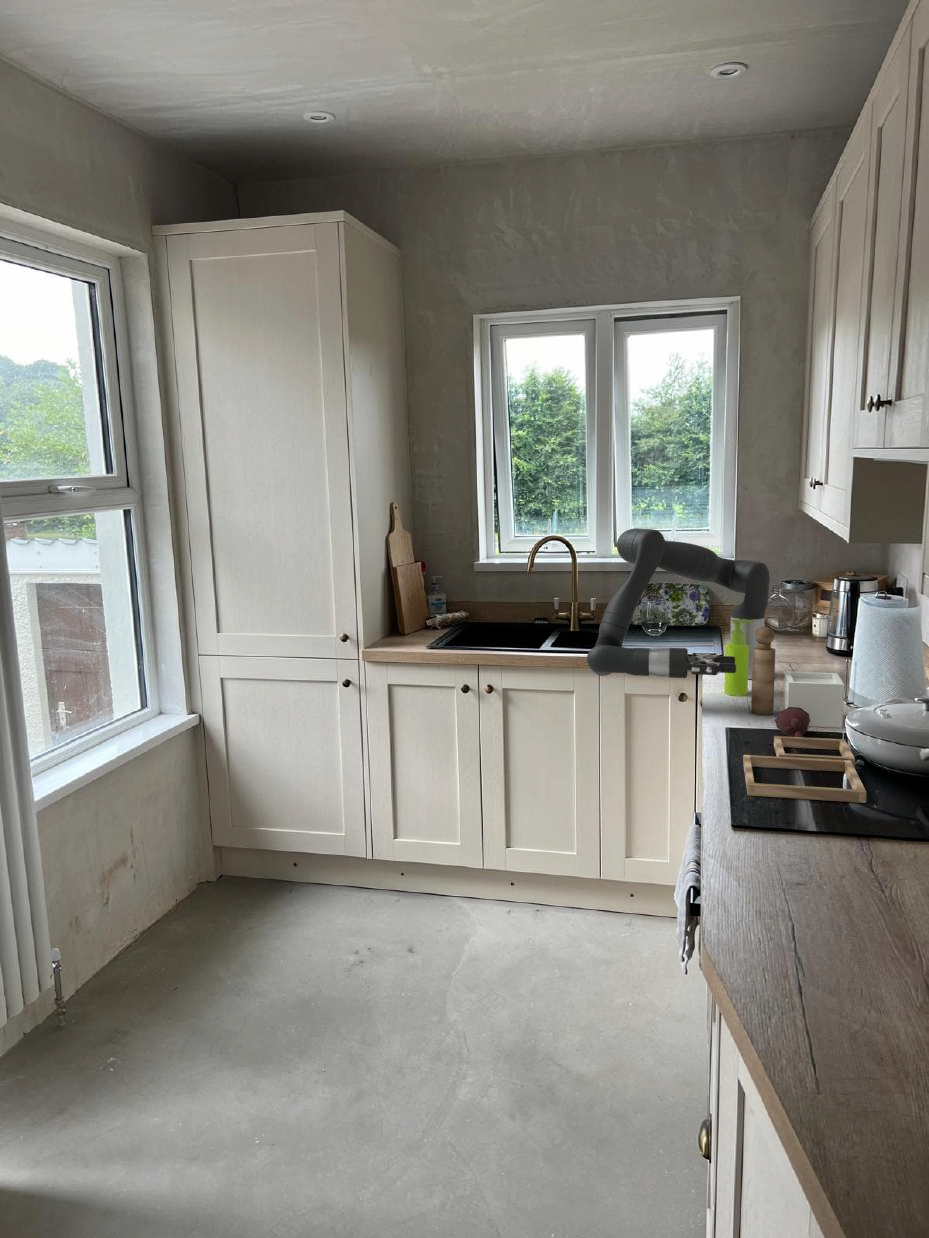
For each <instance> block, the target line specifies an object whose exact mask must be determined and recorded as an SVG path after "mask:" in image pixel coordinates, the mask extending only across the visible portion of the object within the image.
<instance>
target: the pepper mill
mask: <svg viewBox="0 0 929 1238" xmlns="http://www.w3.org/2000/svg"><path fill="white" fill-rule="evenodd" d="M755 638H756V640H757V642H758V647H756V648H753V665H752V679H751V701H750V704H751V706H750V712H751V714H752V715H755V716H759V717H760V716H761V717H762V716H763V717H766V716H772V715H773V716H774V702H775V700H774V699H775V698H774V697H775V671H776V648H773V647H772V643H773V641H774V639H775V632H774V631H773V629H772V628H770V627H768V626H764V627H761V628H759V629H758V630H757V631H756V633H755Z"/></svg>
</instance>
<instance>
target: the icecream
mask: <svg viewBox="0 0 929 1238" xmlns="http://www.w3.org/2000/svg"><path fill="white" fill-rule="evenodd" d="M774 723H775V725H776V728H777V729H778V730H779V731H780V732H781V733H782V734H784V736H786V737H804V734H805V733H806V732H807V731H808V730H809V726H808V725H809V723H810V718H809V714H808V713H807V712H806V711H804V710H803V709H801V708H799V707H788V708H787V709H785V710H783V709H782V710H781V711H779V713H778V714H777V716H776V717H775V720H774Z"/></svg>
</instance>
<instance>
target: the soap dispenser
mask: <svg viewBox="0 0 929 1238" xmlns="http://www.w3.org/2000/svg"><path fill="white" fill-rule="evenodd" d="M732 622H733V623H734V631H732V632H731V631H730V632H731V643H730V642H729V643H727V644H725V655H724V656H734V657H735V664H736V672H735V673H724V692H723V693H724V694H725V695H727V696H733V697H744V696H747V695H748V686H749V685H748V683H749V679H748V656H749V645H747V644H744V632H742V631H741V623H752V624H753V623H754V622H753V621H751V620H747V619H734V620H732Z"/></svg>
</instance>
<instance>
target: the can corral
mask: <svg viewBox="0 0 929 1238" xmlns="http://www.w3.org/2000/svg"><path fill="white" fill-rule="evenodd" d="M773 747H774V752H775V754H776V756H775V757H794V758H812V759H831V760H849V761H851V762H852V764H853V766H854V768H855V766H856V758H855V756H854V754H853V753H852V750H851V748H850V747H849V745H848V743H847V741H846V739H842V738H841V739H840V738H826V737H825V738H824V737H823V738H821V737H806V736H803V737H790V736H785V735H784V736H783V735H774V736H773ZM784 748H796V749H798V748H799V749H818V750H836V751H839V752H840V755H841V756H840V755H839V756H837V755H823V754H822V755H820V754H802V753H801V754H800V753H786V752H785V750H784Z"/></svg>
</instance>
